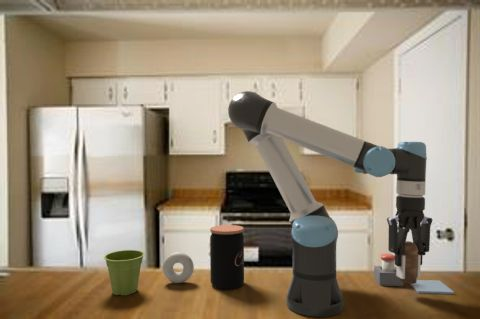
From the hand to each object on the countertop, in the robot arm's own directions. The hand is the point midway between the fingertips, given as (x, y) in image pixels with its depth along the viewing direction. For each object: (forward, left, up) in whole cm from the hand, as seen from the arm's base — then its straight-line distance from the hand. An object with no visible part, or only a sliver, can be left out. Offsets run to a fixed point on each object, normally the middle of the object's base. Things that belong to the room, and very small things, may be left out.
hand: (408, 276), depth 105 cm
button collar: (-2, +12, -6) cm, 13 cm away
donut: (-69, +5, -6) cm, 70 cm away
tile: (+9, +8, -6) cm, 13 cm away
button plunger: (-2, +12, -5) cm, 13 cm away
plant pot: (-83, -4, -6) cm, 84 cm away
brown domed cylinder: (0, 0, -1) cm, 1 cm away
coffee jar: (-53, +5, -6) cm, 54 cm away
